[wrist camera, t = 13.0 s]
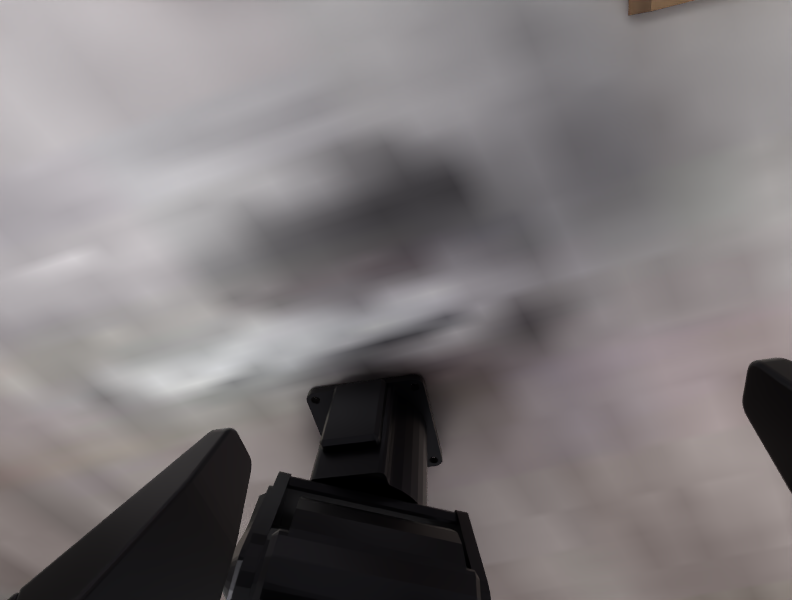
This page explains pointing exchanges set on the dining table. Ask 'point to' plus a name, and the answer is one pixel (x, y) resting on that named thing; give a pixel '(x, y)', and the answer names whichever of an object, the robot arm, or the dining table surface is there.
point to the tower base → (651, 5)
